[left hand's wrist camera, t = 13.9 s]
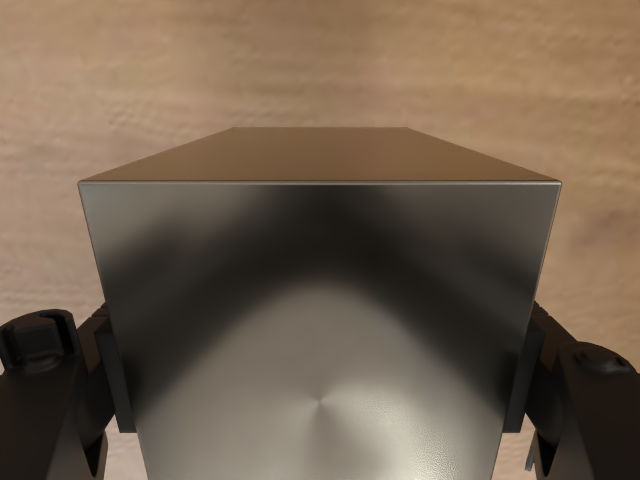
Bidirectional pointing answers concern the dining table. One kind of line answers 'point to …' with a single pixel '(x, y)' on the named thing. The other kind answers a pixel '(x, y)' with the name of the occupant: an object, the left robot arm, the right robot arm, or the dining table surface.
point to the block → (319, 301)
